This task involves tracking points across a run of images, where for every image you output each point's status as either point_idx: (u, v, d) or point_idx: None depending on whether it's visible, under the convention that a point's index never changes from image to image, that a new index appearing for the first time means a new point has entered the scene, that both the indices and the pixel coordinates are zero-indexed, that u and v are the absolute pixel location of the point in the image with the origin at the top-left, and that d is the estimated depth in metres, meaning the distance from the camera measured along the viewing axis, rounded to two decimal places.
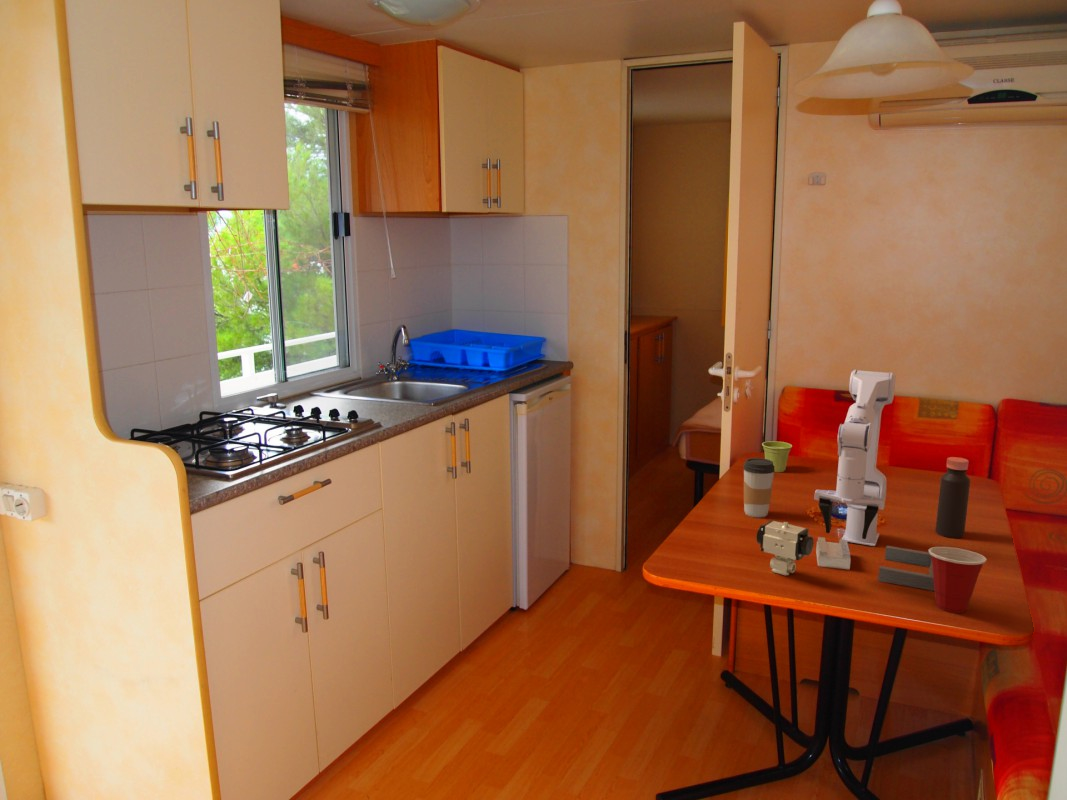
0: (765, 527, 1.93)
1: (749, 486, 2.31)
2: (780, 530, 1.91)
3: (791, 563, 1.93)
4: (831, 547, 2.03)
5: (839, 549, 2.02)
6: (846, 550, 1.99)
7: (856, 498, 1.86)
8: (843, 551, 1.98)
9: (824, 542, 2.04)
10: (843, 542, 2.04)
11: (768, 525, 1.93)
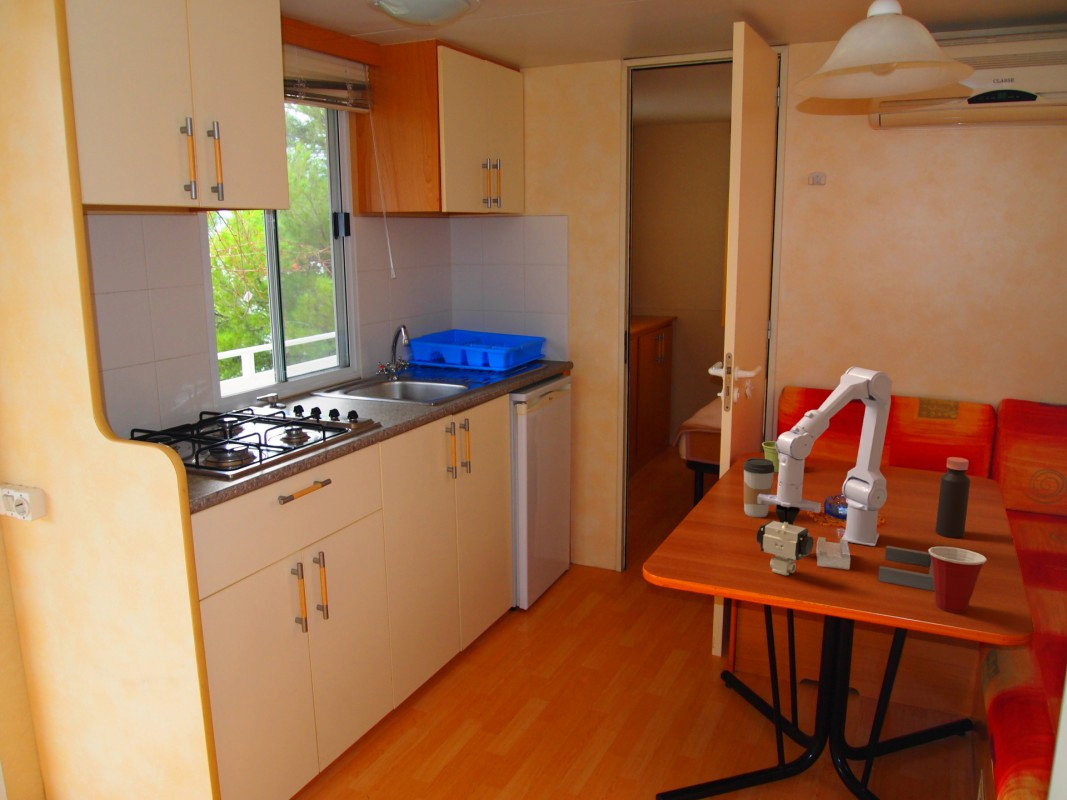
0: (765, 527, 1.93)
1: (749, 486, 2.31)
2: (780, 530, 1.91)
3: (791, 563, 1.93)
4: (831, 547, 2.03)
5: (839, 549, 2.02)
6: (846, 550, 1.99)
7: (794, 502, 2.02)
8: (843, 551, 1.98)
9: (824, 542, 2.04)
10: (843, 542, 2.04)
11: (768, 525, 1.93)
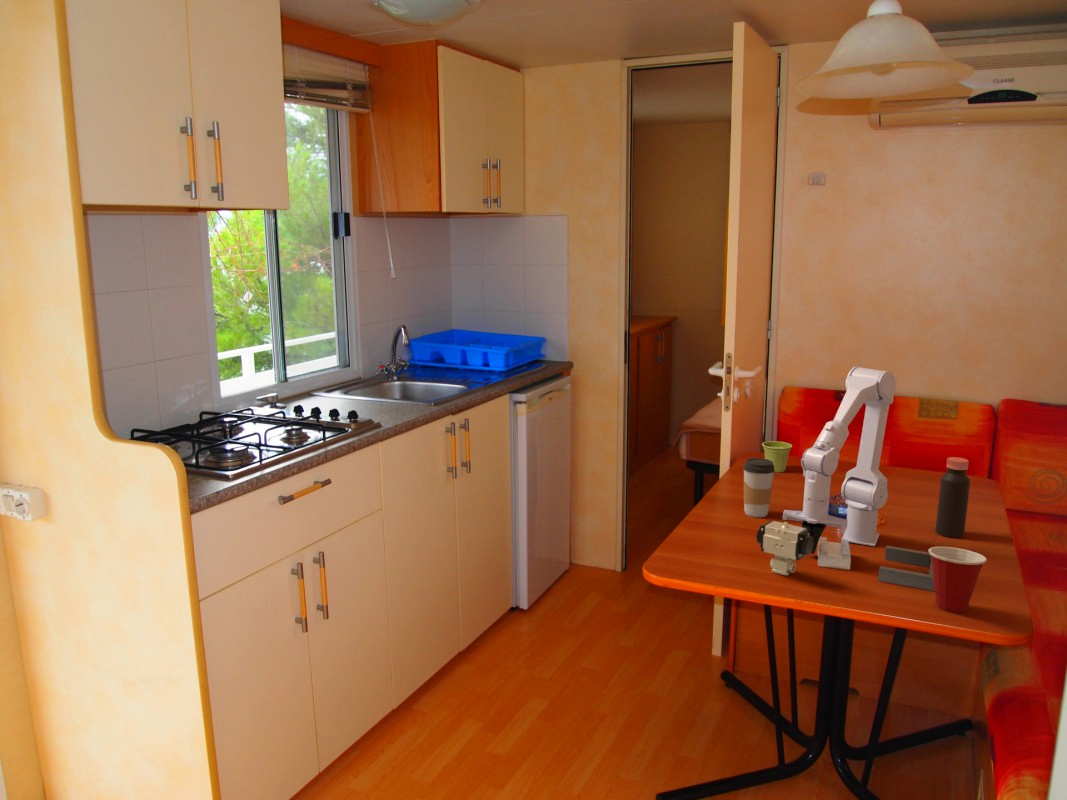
0: (765, 527, 1.93)
1: (749, 486, 2.31)
2: (780, 530, 1.91)
3: (791, 563, 1.93)
4: (832, 547, 2.03)
5: (840, 549, 2.02)
6: (847, 550, 1.98)
7: (820, 518, 2.00)
8: (843, 551, 1.98)
9: (825, 542, 2.04)
10: (844, 542, 2.04)
11: (768, 525, 1.93)
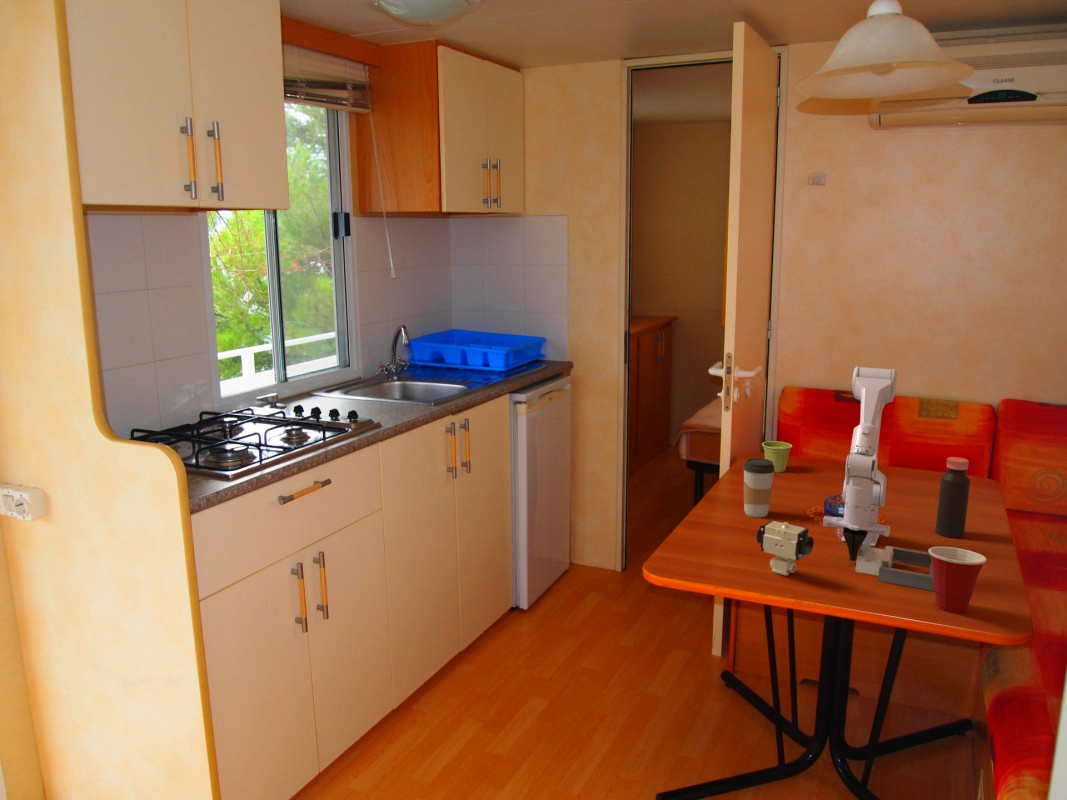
0: (765, 527, 1.93)
1: (749, 486, 2.31)
2: (780, 530, 1.91)
3: (791, 563, 1.93)
4: (874, 553, 1.99)
5: (881, 556, 1.97)
6: (887, 557, 1.94)
7: (863, 525, 1.95)
8: (883, 557, 1.94)
9: (867, 547, 2.00)
10: (888, 549, 1.99)
11: (768, 525, 1.93)
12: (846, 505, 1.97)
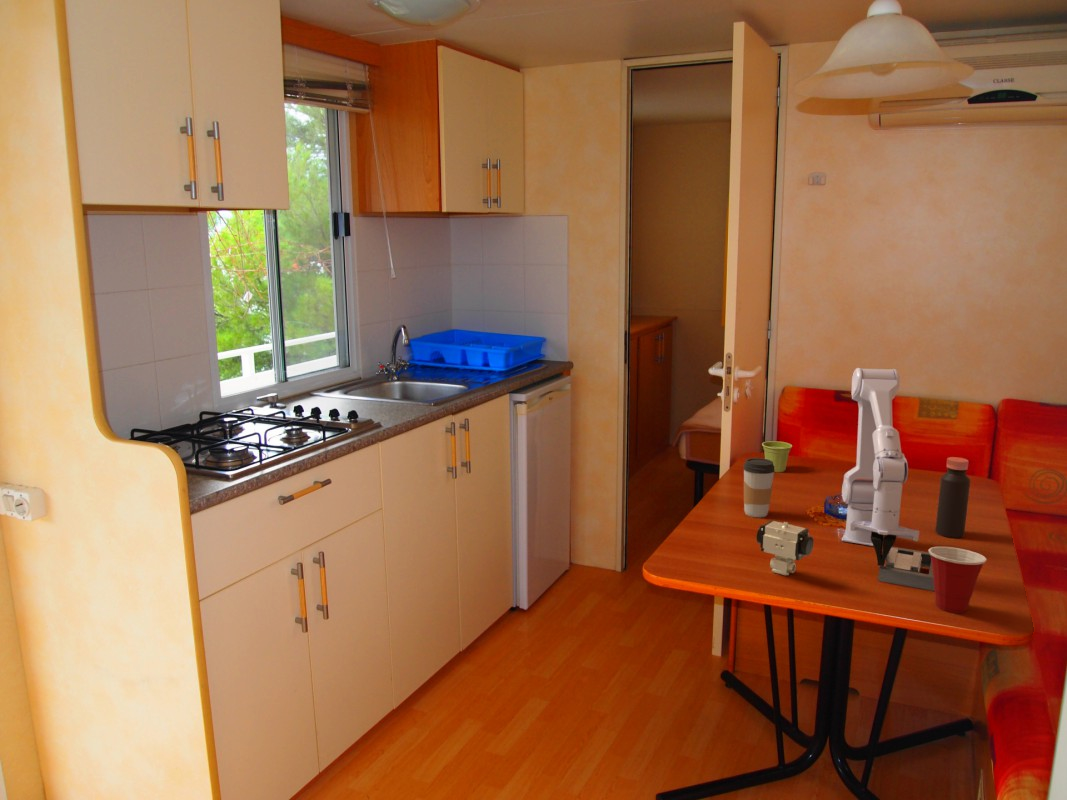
0: (765, 527, 1.93)
1: (749, 486, 2.31)
2: (780, 530, 1.91)
3: (791, 563, 1.93)
4: (902, 559, 1.96)
5: (910, 562, 1.95)
6: (916, 563, 1.91)
7: (891, 530, 1.93)
8: (912, 563, 1.91)
9: (895, 553, 1.97)
10: (916, 555, 1.96)
11: (768, 525, 1.93)
12: (874, 509, 1.94)
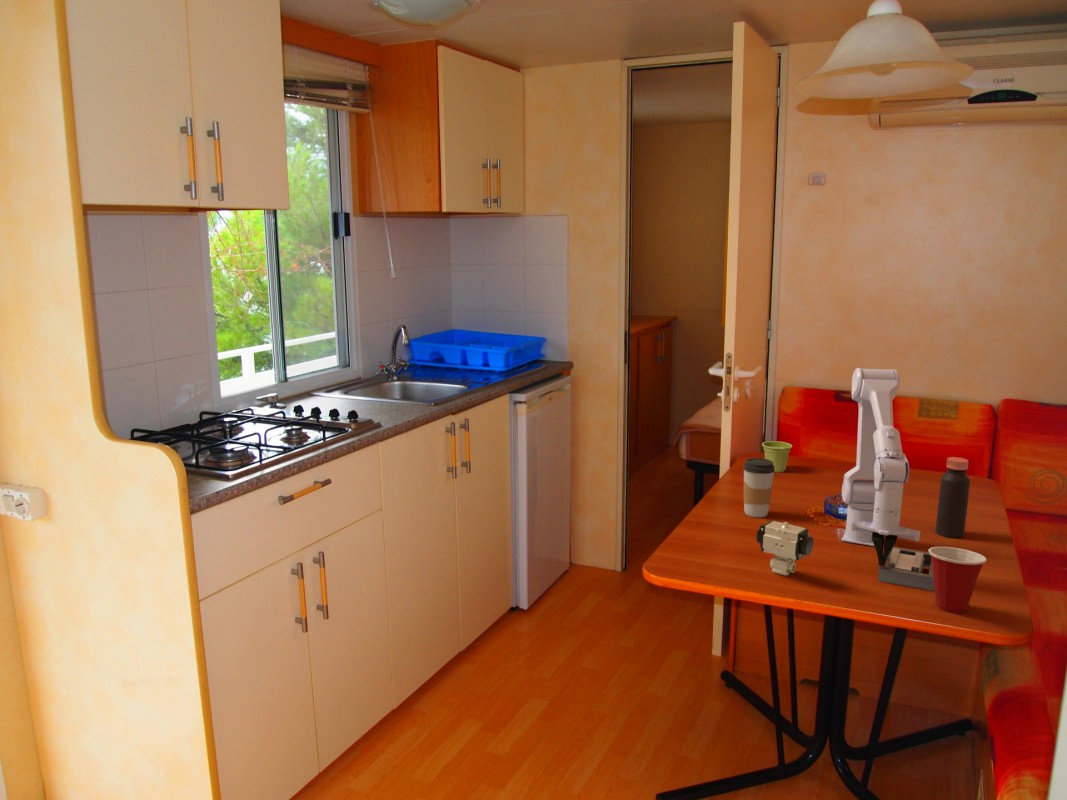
0: (765, 527, 1.93)
1: (749, 486, 2.31)
2: (780, 530, 1.91)
3: (791, 563, 1.93)
4: (904, 560, 1.96)
5: (911, 562, 1.94)
6: (917, 563, 1.91)
7: (892, 530, 1.93)
8: (913, 564, 1.91)
9: (897, 553, 1.97)
10: (918, 555, 1.96)
11: (768, 525, 1.93)
12: (875, 509, 1.94)
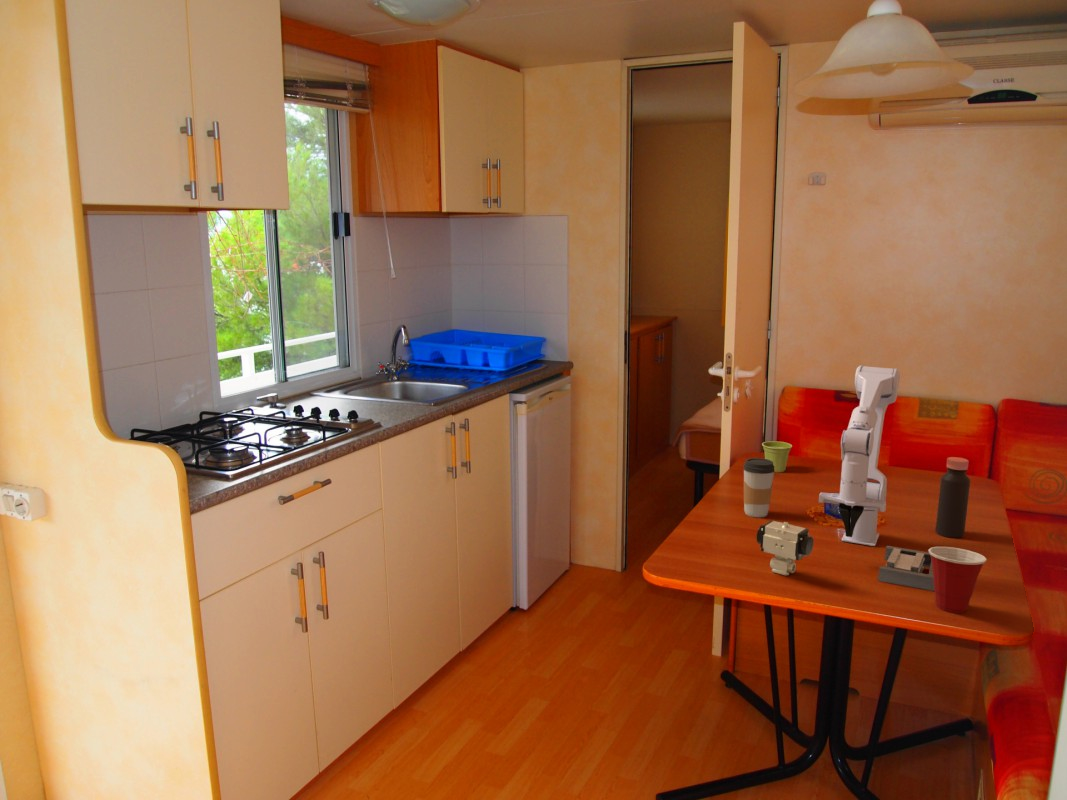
0: (765, 527, 1.93)
1: (749, 486, 2.31)
2: (780, 530, 1.91)
3: (791, 563, 1.93)
4: (904, 560, 1.96)
5: (911, 562, 1.94)
6: (917, 563, 1.91)
7: (859, 501, 1.95)
8: (913, 564, 1.91)
9: (897, 553, 1.97)
10: (919, 555, 1.96)
11: (768, 525, 1.93)
12: (842, 481, 1.97)
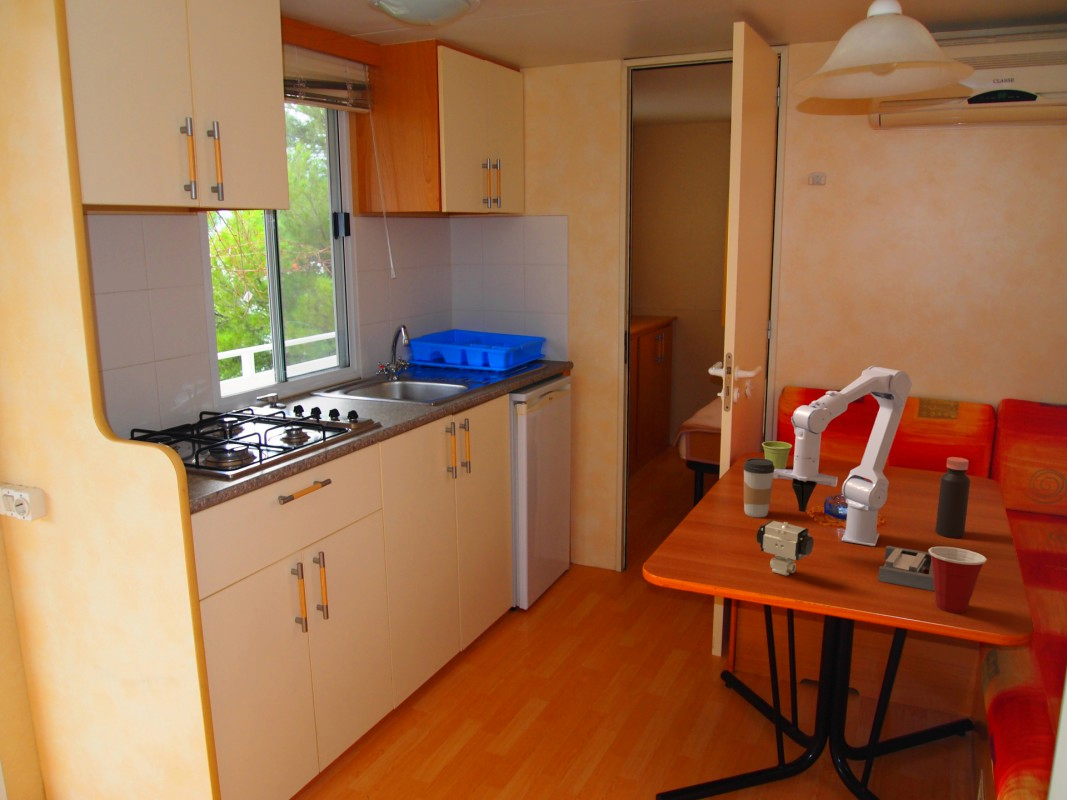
0: (765, 527, 1.93)
1: (749, 486, 2.31)
2: (780, 530, 1.91)
3: (791, 563, 1.93)
4: (904, 560, 1.96)
5: (911, 562, 1.94)
6: (916, 563, 1.91)
7: (811, 476, 2.01)
8: (912, 564, 1.91)
9: (898, 553, 1.97)
10: (919, 556, 1.96)
11: (768, 525, 1.93)
12: (795, 457, 2.03)
